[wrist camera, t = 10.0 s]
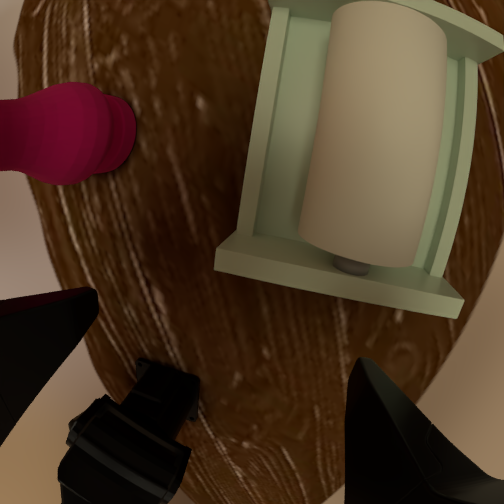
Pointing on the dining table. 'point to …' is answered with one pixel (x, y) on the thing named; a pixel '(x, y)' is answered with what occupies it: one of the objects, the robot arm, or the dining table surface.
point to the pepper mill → (65, 133)
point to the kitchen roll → (376, 134)
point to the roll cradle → (300, 152)
